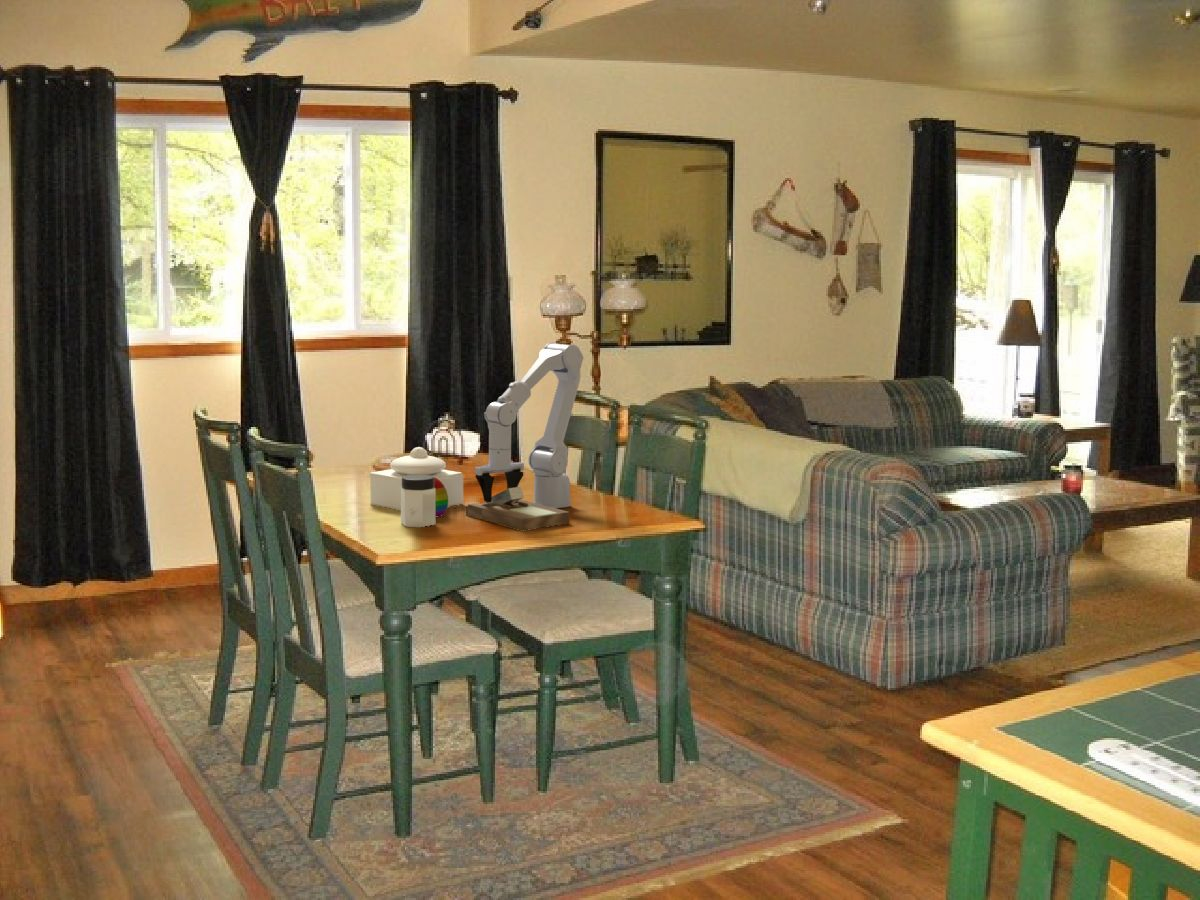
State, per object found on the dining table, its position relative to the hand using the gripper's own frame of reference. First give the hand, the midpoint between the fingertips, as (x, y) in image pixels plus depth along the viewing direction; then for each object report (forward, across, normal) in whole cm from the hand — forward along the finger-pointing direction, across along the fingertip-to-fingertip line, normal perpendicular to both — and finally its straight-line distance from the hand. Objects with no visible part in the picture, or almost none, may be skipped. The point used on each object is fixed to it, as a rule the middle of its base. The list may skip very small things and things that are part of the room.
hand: (499, 499), depth 347 cm
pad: (+1, 0, +14) cm, 14 cm away
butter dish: (+4, +10, -24) cm, 26 cm away
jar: (+4, +23, -3) cm, 24 cm away
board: (+4, 0, +7) cm, 8 cm away
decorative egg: (+4, +14, -10) cm, 18 cm away
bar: (+1, 0, +3) cm, 3 cm away
